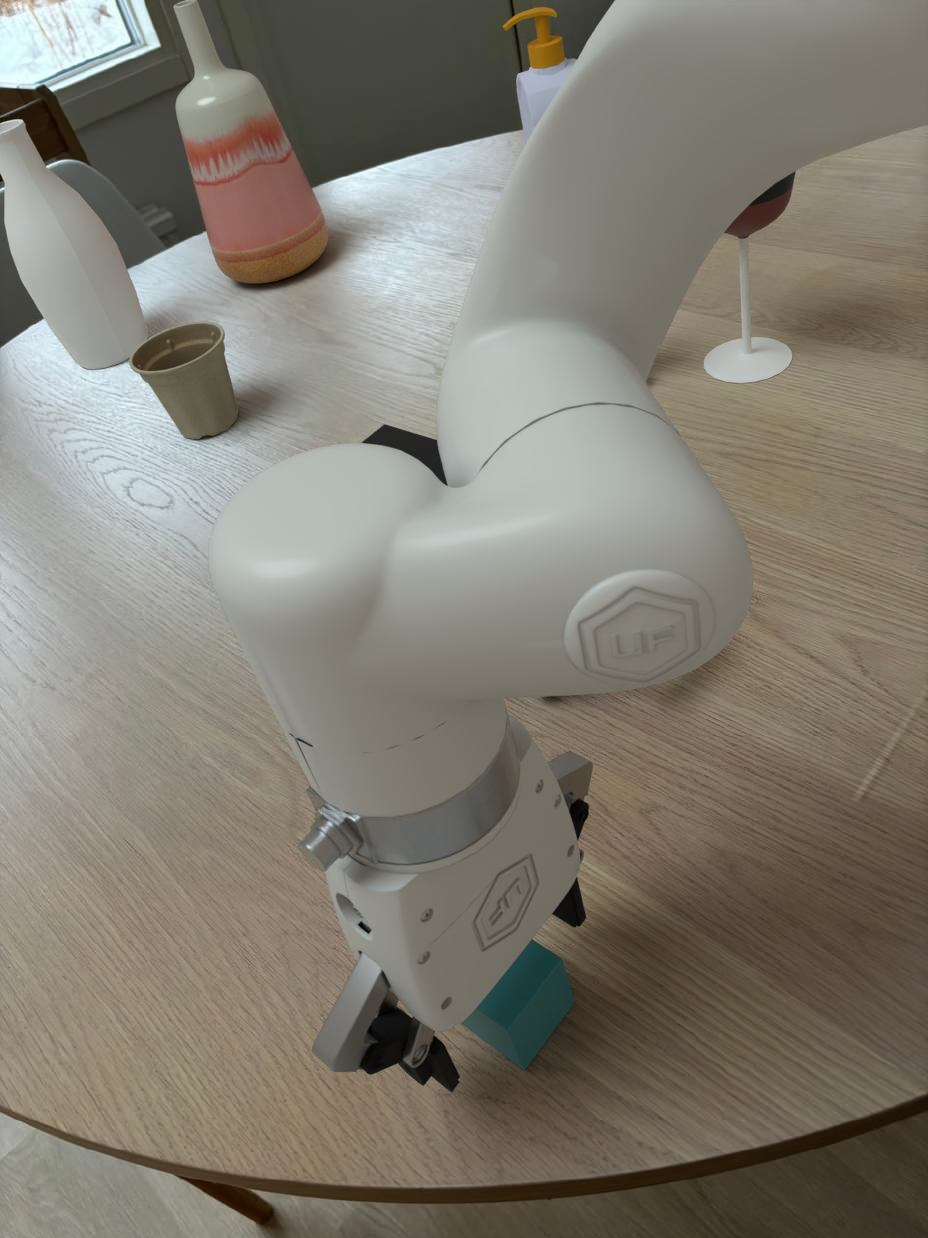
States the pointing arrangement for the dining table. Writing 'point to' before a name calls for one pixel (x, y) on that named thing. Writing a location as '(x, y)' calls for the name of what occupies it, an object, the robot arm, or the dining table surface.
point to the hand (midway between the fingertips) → (497, 985)
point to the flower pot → (189, 377)
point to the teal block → (524, 1005)
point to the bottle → (67, 258)
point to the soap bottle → (540, 69)
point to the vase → (244, 168)
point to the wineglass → (748, 353)
